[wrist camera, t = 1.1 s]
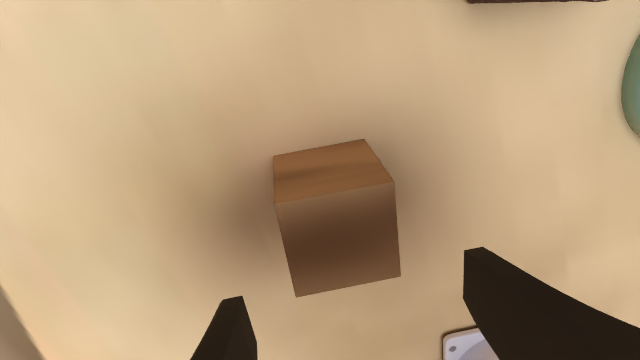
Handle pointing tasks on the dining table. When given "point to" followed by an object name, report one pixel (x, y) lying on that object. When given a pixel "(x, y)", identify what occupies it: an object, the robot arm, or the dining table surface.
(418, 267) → the dining table surface
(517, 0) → the box
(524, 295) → the robot arm
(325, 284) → the walnut block
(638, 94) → the coaster
